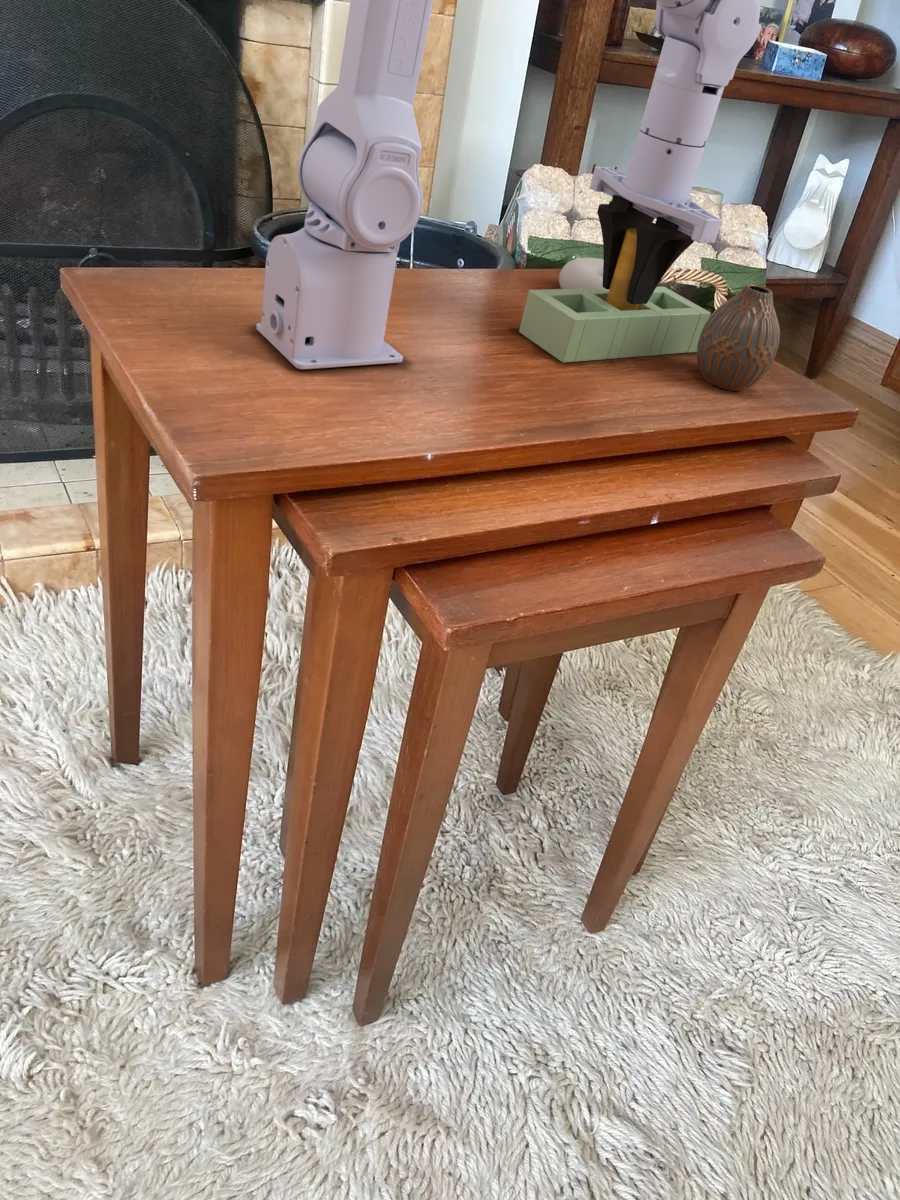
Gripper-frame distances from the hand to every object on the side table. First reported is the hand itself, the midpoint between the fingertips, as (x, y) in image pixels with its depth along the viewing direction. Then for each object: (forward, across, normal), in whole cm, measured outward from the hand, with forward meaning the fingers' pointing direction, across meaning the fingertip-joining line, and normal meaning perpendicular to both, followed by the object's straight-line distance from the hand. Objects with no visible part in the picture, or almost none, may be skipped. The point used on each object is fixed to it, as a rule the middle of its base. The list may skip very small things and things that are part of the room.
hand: (624, 295), depth 89 cm
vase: (+5, -10, -6) cm, 12 cm away
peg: (+2, 0, 0) cm, 2 cm away
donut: (+5, +10, -7) cm, 13 cm away
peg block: (+5, 0, 0) cm, 5 cm away
